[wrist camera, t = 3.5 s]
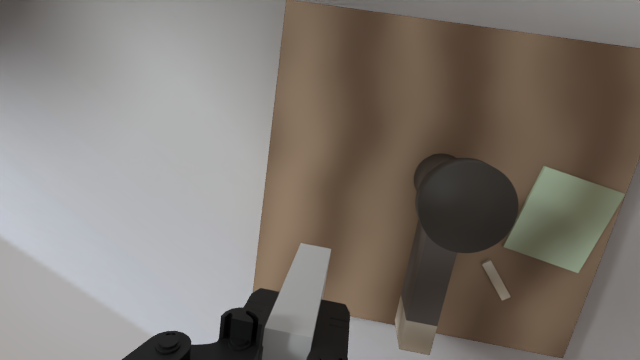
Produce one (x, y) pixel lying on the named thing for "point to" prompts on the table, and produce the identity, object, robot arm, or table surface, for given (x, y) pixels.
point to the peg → (449, 236)
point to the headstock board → (454, 139)
